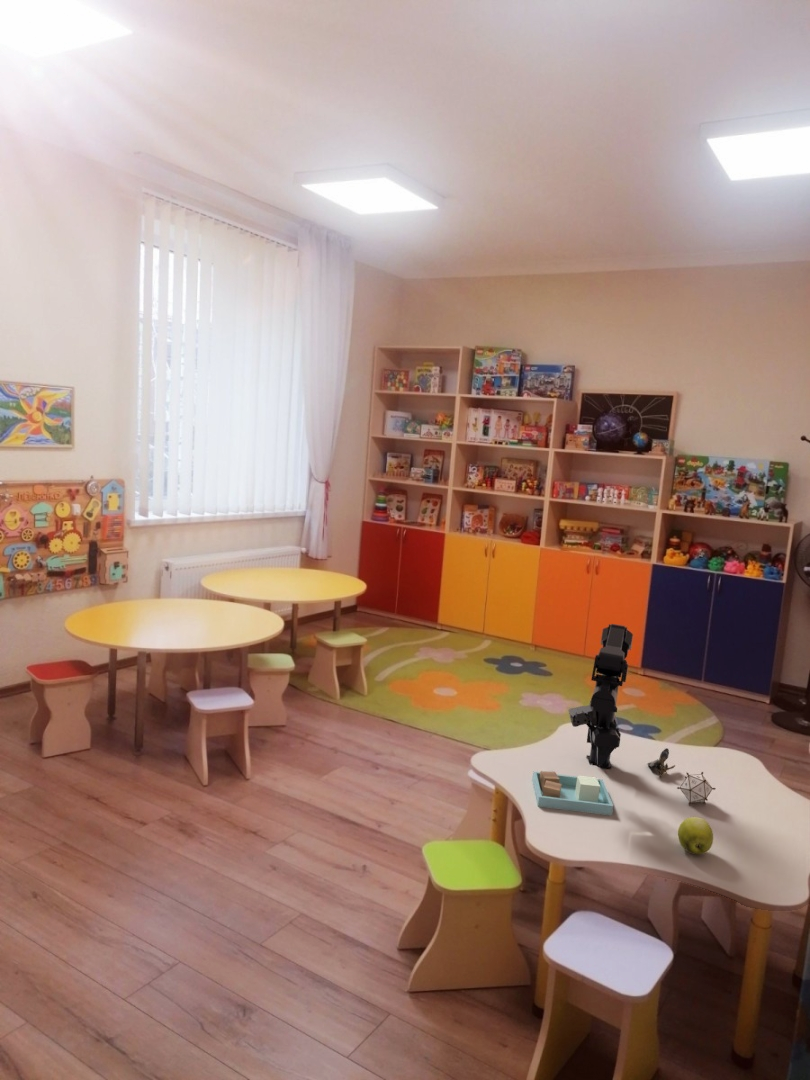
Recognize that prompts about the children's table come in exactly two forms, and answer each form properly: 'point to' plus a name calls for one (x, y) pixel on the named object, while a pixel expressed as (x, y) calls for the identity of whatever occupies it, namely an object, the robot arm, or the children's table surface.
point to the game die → (696, 788)
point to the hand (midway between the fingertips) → (596, 757)
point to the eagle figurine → (661, 762)
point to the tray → (572, 797)
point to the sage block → (587, 789)
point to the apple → (695, 835)
